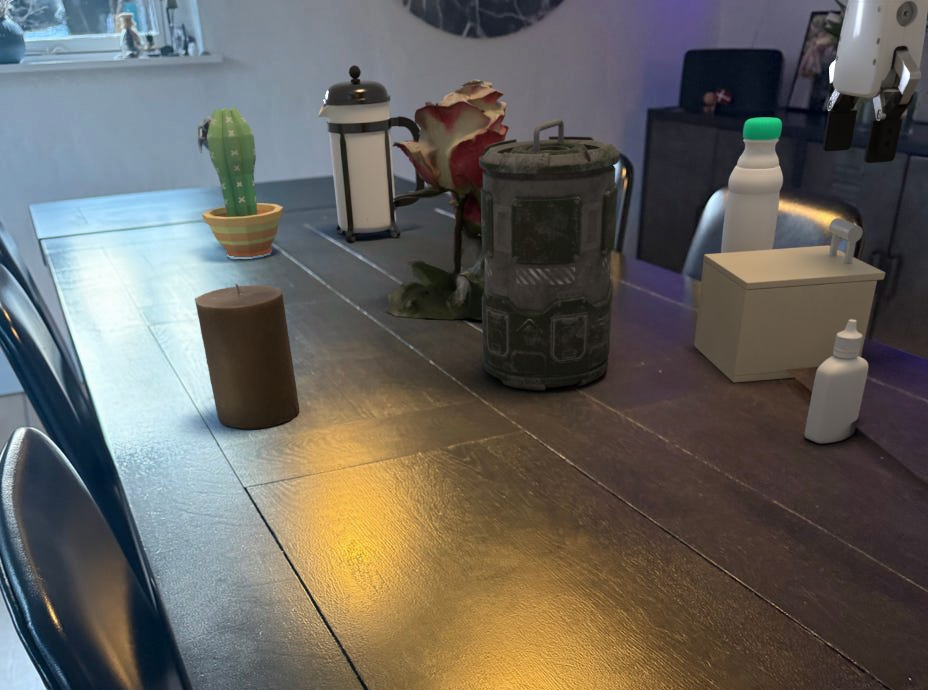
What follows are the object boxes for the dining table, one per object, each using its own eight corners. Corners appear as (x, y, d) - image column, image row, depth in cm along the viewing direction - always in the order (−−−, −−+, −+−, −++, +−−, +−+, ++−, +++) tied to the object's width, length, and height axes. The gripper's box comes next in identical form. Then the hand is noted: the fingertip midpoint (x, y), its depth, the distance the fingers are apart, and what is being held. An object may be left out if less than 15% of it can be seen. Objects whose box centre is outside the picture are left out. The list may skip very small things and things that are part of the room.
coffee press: (380, 246, 183) (366, 68, 166) (317, 239, 190) (298, 68, 173) (429, 229, 194) (420, 61, 177) (368, 223, 202) (355, 61, 185)
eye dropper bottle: (795, 429, 99) (816, 315, 93) (848, 427, 99) (873, 313, 92) (808, 445, 96) (830, 328, 89) (863, 443, 96) (890, 325, 89)
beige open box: (806, 337, 125) (821, 252, 119) (857, 372, 113) (877, 280, 107) (694, 346, 124) (703, 261, 118) (733, 382, 112) (745, 290, 106)
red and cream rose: (560, 327, 133) (566, 85, 116) (373, 317, 142) (353, 90, 125) (596, 282, 153) (605, 69, 136) (430, 276, 162) (419, 75, 145)
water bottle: (773, 314, 134) (804, 117, 120) (740, 324, 131) (767, 123, 117) (735, 304, 139) (760, 114, 125) (702, 313, 136) (724, 119, 122)
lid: (827, 251, 119) (835, 209, 116) (884, 279, 107) (894, 233, 104) (703, 260, 118) (707, 218, 115) (746, 289, 106) (752, 243, 103)
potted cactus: (261, 242, 191) (240, 102, 176) (304, 252, 181) (286, 105, 167) (194, 256, 182) (167, 111, 168) (236, 267, 173) (211, 114, 159)
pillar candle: (301, 425, 107) (282, 290, 98) (215, 433, 106) (188, 298, 97) (298, 396, 115) (280, 269, 106) (218, 404, 113) (194, 276, 105)
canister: (512, 346, 127) (511, 113, 111) (624, 358, 121) (640, 113, 105) (463, 384, 115) (453, 130, 99) (584, 399, 109) (595, 131, 93)
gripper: (976, -38, 87) (930, 164, 97) (883, -32, 101) (851, 144, 111) (900, -34, 87) (862, 169, 96) (817, -29, 101) (791, 148, 110)
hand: (856, 155), depth 104 cm, fingers open, 9 cm apart
